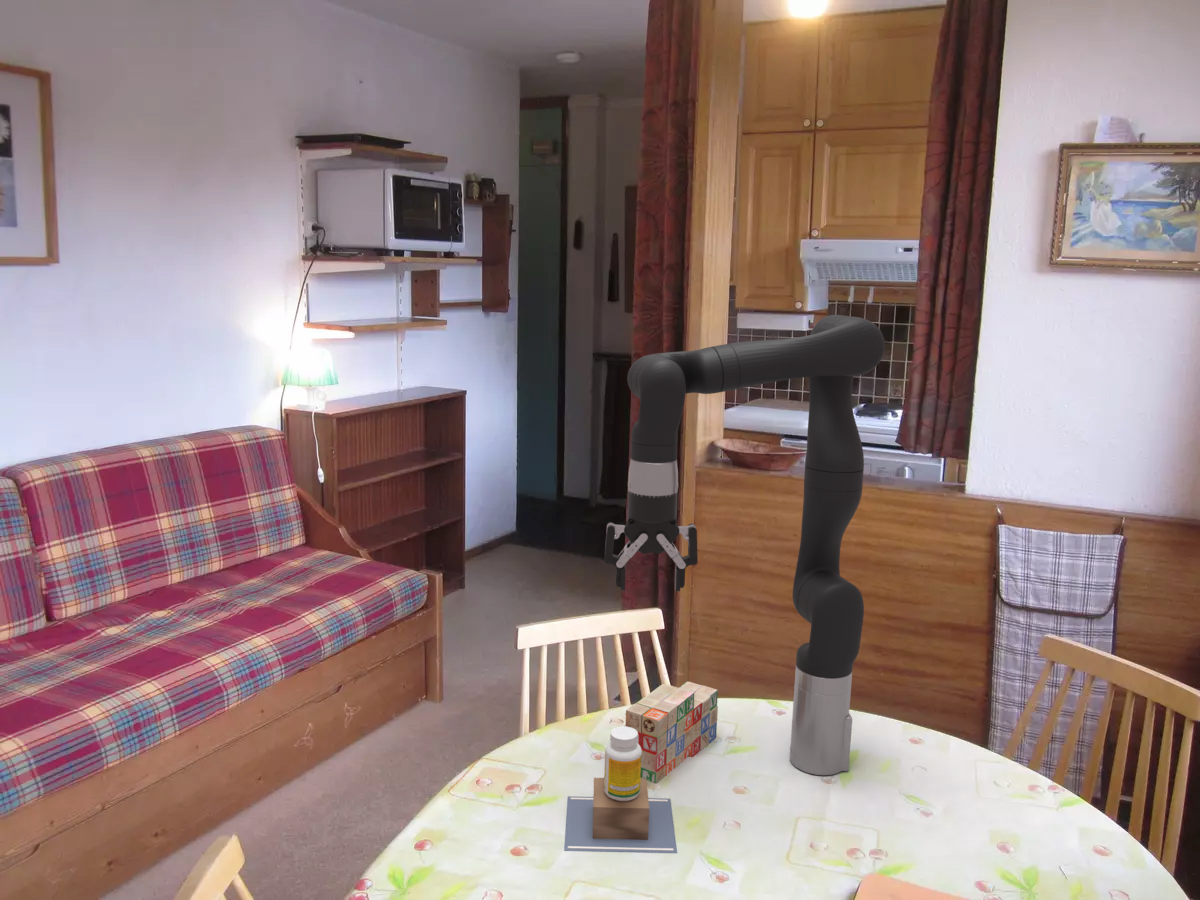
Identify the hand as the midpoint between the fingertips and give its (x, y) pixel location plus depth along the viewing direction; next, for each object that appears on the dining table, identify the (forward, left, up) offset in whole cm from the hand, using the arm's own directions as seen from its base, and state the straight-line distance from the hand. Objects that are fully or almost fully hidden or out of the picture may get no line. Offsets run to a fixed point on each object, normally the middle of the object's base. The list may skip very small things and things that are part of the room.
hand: (649, 589), depth 148 cm
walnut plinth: (+4, +13, -32) cm, 35 cm away
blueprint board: (+4, +13, -33) cm, 36 cm away
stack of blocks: (-5, -9, -33) cm, 35 cm away
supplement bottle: (+4, +13, -27) cm, 30 cm away
